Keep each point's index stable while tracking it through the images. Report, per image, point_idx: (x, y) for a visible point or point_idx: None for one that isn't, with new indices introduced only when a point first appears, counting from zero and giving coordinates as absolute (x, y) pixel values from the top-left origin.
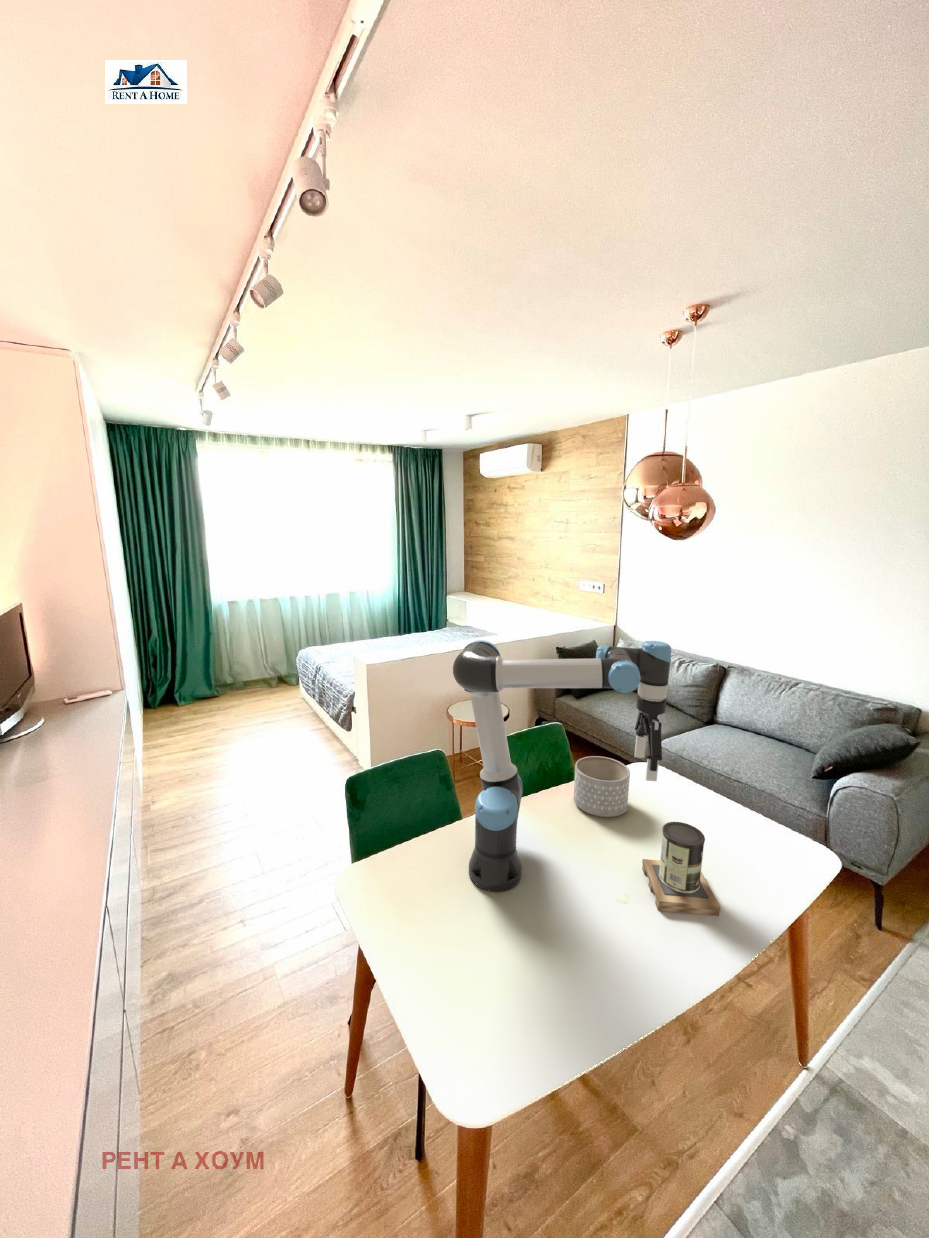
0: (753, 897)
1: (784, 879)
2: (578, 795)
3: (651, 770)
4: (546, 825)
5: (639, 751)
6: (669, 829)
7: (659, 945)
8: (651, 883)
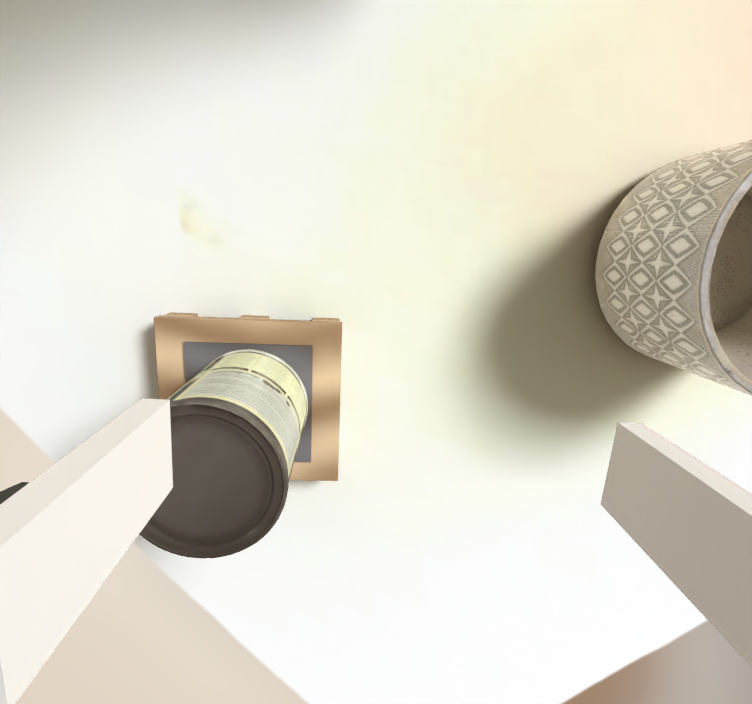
0: (259, 567)
1: (334, 661)
2: (704, 154)
3: (13, 491)
4: (561, 11)
5: (650, 492)
6: (222, 433)
7: (44, 277)
8: (237, 319)
